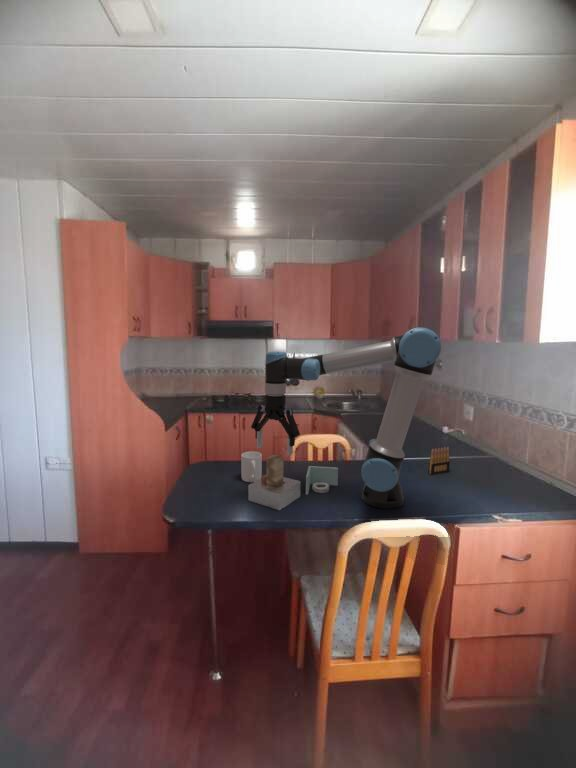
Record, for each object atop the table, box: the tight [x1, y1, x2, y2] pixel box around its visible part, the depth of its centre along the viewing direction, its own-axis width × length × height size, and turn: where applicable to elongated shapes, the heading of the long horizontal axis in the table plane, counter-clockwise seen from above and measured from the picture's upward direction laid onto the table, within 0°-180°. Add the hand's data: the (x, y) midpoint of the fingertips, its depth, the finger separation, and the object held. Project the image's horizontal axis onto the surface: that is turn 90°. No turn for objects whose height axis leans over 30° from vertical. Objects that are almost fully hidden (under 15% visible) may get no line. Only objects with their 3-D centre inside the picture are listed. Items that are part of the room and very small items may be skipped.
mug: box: [240, 451, 263, 483], centre depth 154 cm, size 9×12×11 cm
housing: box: [247, 474, 301, 511], centre depth 137 cm, size 14×14×8 cm
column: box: [265, 454, 284, 488], centre depth 137 cm, size 5×5×16 cm
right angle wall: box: [305, 465, 339, 496], centre depth 146 cm, size 12×12×8 cm
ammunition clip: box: [427, 446, 451, 476], centre depth 165 cm, size 11×2×12 cm, turn 112°
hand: (274, 451), depth 135 cm, fingers open, 13 cm apart
